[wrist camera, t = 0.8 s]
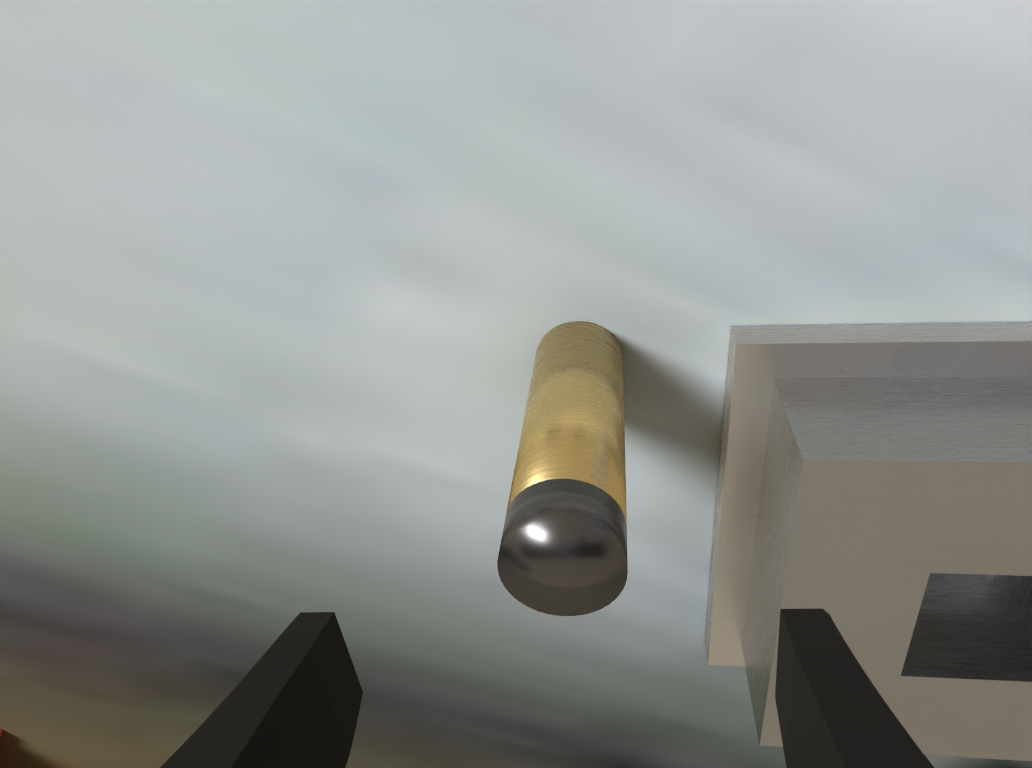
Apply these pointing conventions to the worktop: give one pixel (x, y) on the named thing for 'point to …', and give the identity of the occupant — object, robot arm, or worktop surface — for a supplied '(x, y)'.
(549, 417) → the brass cylinder rod
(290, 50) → the worktop surface
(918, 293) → the worktop surface
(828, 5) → the worktop surface
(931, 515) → the chuck block
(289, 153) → the worktop surface
